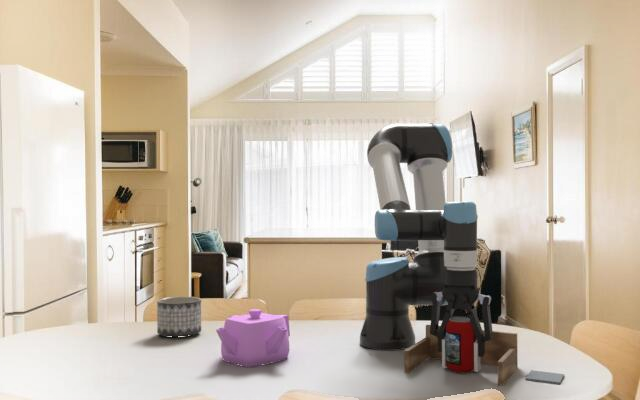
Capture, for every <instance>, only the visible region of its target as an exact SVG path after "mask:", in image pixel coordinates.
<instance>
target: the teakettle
mask: <svg viewBox="0 0 640 400" xmlns="http://www.w3.org/2000/svg"><path fill="white" fill-rule="evenodd" d="M215 331H216V333H217V335H218V337H219V340H220V342H221V346H220V351H221V353H220V354H221V357H222V360H223V359H224V360H226V361H225V362H227V361H229V362H228V363H230V362H232V363H231V364H233V363H235V364H234V365H236V364H239V365H242V366H241V367H243V366H247V367H246V368H252V367H251V366H256V367H258V366H257V365H261V366H263V365H262V364H266V365H268V364H267V363H270V364H272V363H271V362H274V363H276V362H275V361H277V362H280V361H279V360H281V361H283V360H282V359H284V360H287V359H288V357H289V355H290V336H291V332H290V321H289V315H286V314H279V315H276V314H271V313H266V312H262V309H259V308H258V309H257V308H253V309H249V310H248V314H240V315H239V314H237V315H231V316H229V317H227V318H226V319H225V321H224V325H223V326H222V327H221V326H220V327H219V328H216V329H215ZM286 358H287V359H286ZM224 360H223V361H224ZM239 365H238V366H239Z"/></svg>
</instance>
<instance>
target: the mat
mask: <svg viewBox="0 0 640 400" xmlns="http://www.w3.org/2000/svg"><path fill="white" fill-rule="evenodd" d="M564 377H565V374H564V373H557V372H548V371H541V370H530V371H529V373H528V374H527V375H526V377H525V381H531V382H539V383H545V384H553V383H554V385H561V383H562V381H563V380H564V379H563V378H564Z"/></svg>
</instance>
